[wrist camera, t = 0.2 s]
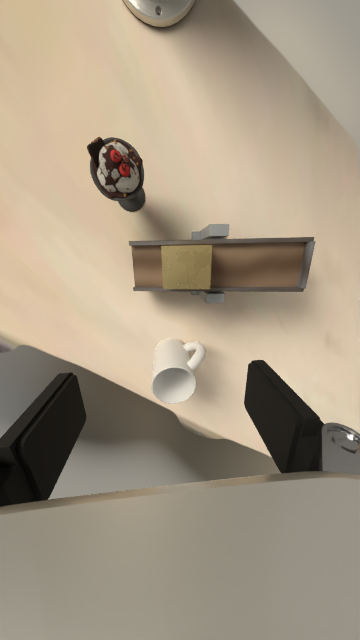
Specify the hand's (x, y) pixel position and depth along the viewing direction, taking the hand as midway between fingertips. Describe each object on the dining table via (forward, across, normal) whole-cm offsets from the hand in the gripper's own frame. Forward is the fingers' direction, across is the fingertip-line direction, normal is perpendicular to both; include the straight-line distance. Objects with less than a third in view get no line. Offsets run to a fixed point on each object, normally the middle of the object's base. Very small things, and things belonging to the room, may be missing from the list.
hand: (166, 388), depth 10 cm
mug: (+31, -3, +14) cm, 34 cm away
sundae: (+31, +5, -17) cm, 36 cm away
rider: (+24, -4, -5) cm, 25 cm away
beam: (+27, -9, -5) cm, 29 cm away
